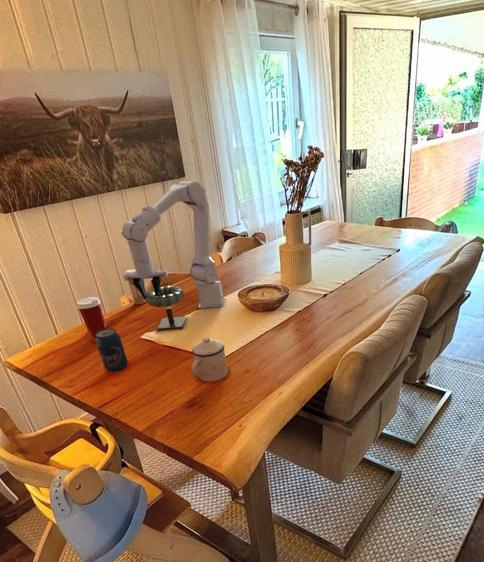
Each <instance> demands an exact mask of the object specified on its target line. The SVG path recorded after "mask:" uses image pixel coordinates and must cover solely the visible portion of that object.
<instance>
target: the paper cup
mask: <svg viewBox="0 0 484 562" xmlns="http://www.w3.org/2000/svg"><path fill="white" fill-rule="evenodd" d="M76 308H77V309H78V311H79V313H80V315H81V317H82V320H83V322H84V324H85V328H86V330H87V331H88V333H89V336H90V338H91V340H92V341H93V342H94V343H96V341H95V339H96V333H97V332H98V331H100V330H103V329H108V328H107V324H106V321H105V317H104V313H103V309H102V306H101V300H99V298H98V297H97V296H89V297H83V298H81V299H79V300H78V301H76Z"/></svg>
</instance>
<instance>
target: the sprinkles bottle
mask: <svg viewBox="0 0 484 562" xmlns="http://www.w3.org/2000/svg"><path fill="white" fill-rule="evenodd" d="M133 272H136V270H135V268H134V269H133V268H132V269H128V270H126V271H125V273H124V274H126V273H133ZM127 282H128V286H129V289H130V293H131V296H132V298H133V303H134V304H135V305H136V306H137V305H138V306H139V305H143V304H145V303H146V300H144V298H143V296H142V295H141V293H140V291H139V290H138V289H137V288H136V287H135V286H134V285H133V280H128V281H127Z"/></svg>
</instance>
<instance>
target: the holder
mask: <svg viewBox="0 0 484 562" xmlns="http://www.w3.org/2000/svg"><path fill="white" fill-rule="evenodd" d="M165 312H166V316H167V317H163V318H161V319H160V322H159V324H158V326H157V328H156V330H157V332H162V331H163V332H164V331H174V330H175V331H176V330H183V329H184V327H185V324H186V321H187V316H174V313H173V309H172V307H171V306H166V307H165Z"/></svg>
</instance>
